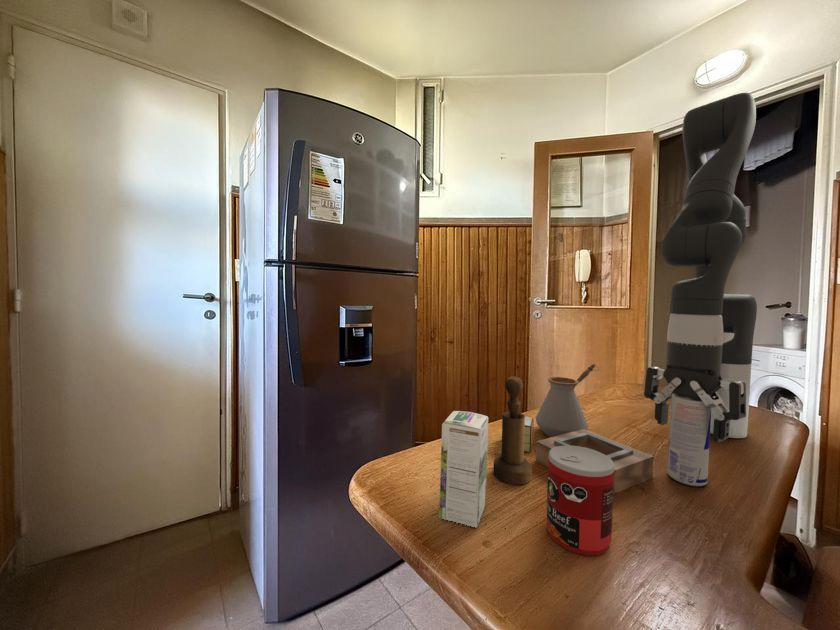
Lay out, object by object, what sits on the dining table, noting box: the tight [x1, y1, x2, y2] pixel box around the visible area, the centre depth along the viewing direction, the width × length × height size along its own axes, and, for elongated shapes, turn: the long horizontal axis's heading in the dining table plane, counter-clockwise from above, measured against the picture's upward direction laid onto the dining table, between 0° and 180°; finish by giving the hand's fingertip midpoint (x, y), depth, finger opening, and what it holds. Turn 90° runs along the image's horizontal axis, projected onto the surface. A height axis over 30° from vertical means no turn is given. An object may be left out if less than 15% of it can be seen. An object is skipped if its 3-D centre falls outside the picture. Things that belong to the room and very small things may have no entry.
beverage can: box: [667, 393, 711, 487], centre depth 60 cm, size 6×6×15 cm
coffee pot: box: [535, 363, 600, 438], centre depth 83 cm, size 21×12×15 cm, turn 127°
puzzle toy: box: [524, 416, 535, 453], centre depth 74 cm, size 6×6×6 cm
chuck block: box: [535, 429, 654, 495], centre depth 64 cm, size 14×14×5 cm
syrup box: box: [438, 410, 489, 529], centre depth 50 cm, size 6×6×14 cm
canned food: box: [545, 445, 615, 557], centre depth 46 cm, size 8×8×11 cm
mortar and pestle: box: [492, 375, 532, 486], centre depth 61 cm, size 7×6×18 cm
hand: (688, 431), depth 60 cm, fingers open, 8 cm apart
